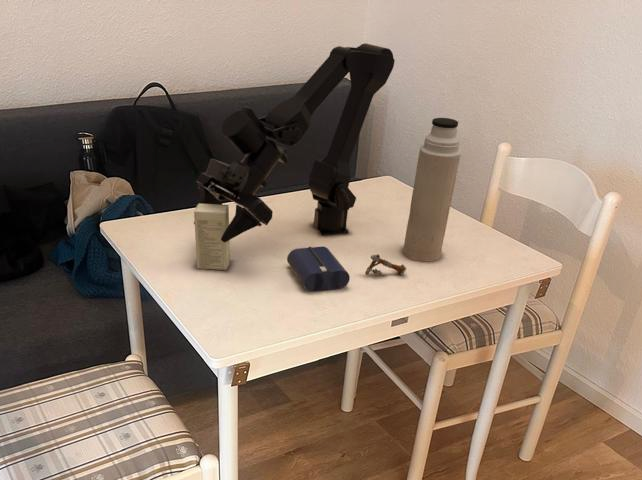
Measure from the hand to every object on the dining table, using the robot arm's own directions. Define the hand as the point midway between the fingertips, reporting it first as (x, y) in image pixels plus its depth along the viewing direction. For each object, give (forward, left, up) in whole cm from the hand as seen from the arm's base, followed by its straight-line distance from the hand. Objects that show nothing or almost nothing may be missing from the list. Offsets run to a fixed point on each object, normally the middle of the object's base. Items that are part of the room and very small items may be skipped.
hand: (208, 233), depth 132 cm
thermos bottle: (-46, +3, -7) cm, 47 cm away
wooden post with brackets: (-34, +11, -7) cm, 36 cm away
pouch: (-20, +9, -7) cm, 23 cm away
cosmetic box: (-1, 0, -7) cm, 7 cm away
